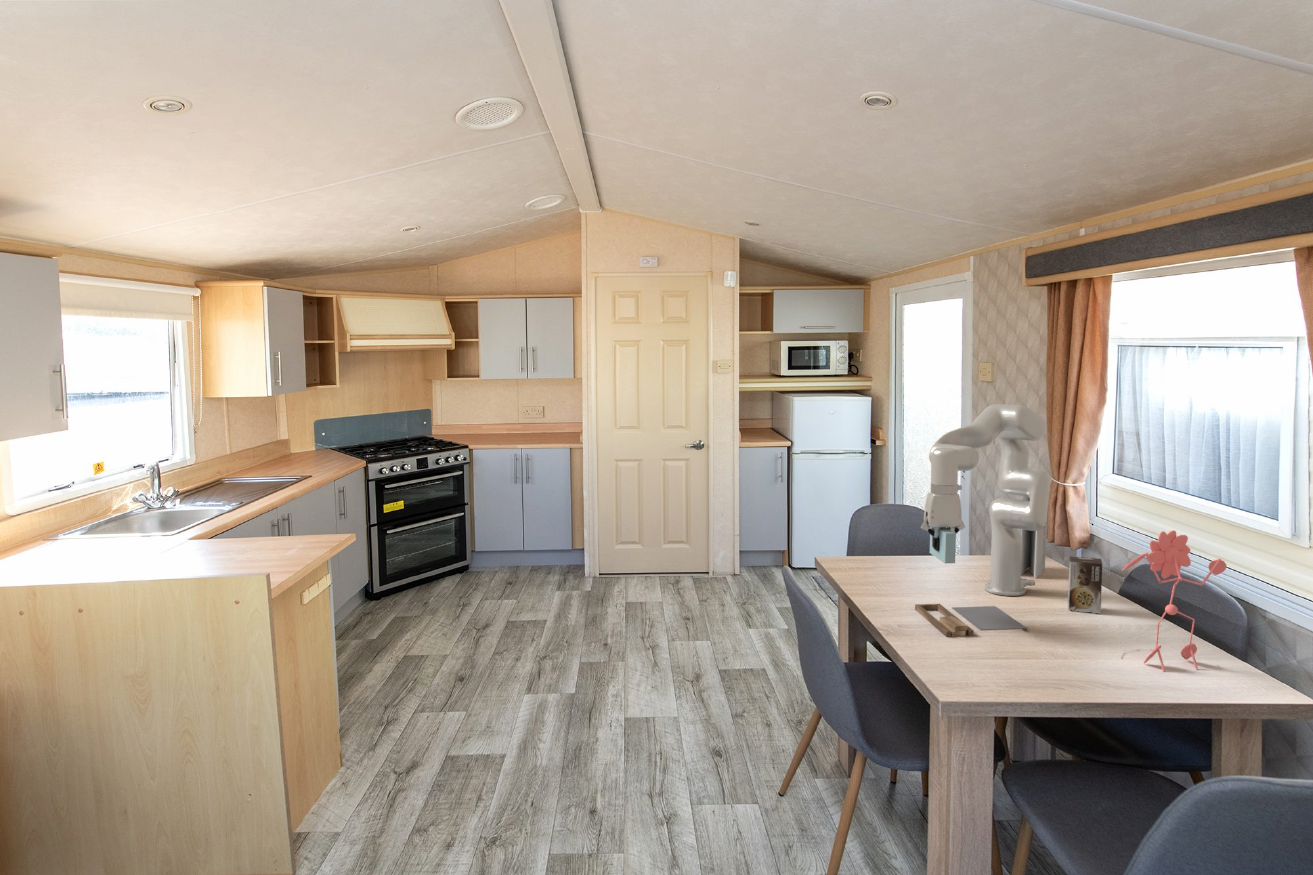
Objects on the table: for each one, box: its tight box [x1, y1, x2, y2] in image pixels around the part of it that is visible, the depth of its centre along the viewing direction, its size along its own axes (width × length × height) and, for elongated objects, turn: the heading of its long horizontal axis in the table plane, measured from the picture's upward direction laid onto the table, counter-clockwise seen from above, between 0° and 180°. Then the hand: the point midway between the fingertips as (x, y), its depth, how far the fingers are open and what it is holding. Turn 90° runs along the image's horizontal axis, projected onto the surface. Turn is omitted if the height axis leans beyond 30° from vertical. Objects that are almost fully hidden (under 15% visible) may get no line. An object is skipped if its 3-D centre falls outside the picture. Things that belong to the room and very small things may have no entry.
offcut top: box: [938, 616, 969, 632], centre depth 238 cm, size 4×8×2 cm, turn 13°
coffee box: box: [1067, 556, 1104, 615], centre depth 256 cm, size 9×6×16 cm
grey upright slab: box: [1020, 496, 1049, 579], centre depth 297 cm, size 14×6×30 cm, turn 143°
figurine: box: [1121, 530, 1227, 672], centre depth 215 cm, size 15×26×35 cm, turn 96°
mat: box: [951, 605, 1028, 632], centre depth 248 cm, size 14×20×1 cm
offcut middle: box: [944, 625, 967, 637], centre depth 238 cm, size 4×8×2 cm, turn 8°
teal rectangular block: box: [929, 526, 957, 565], centre depth 247 cm, size 3×12×9 cm, turn 3°
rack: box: [914, 603, 975, 638], centre depth 245 cm, size 8×24×2 cm, turn 3°
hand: (942, 549), depth 247 cm, fingers closed on teal rectangular block, 3 cm apart
